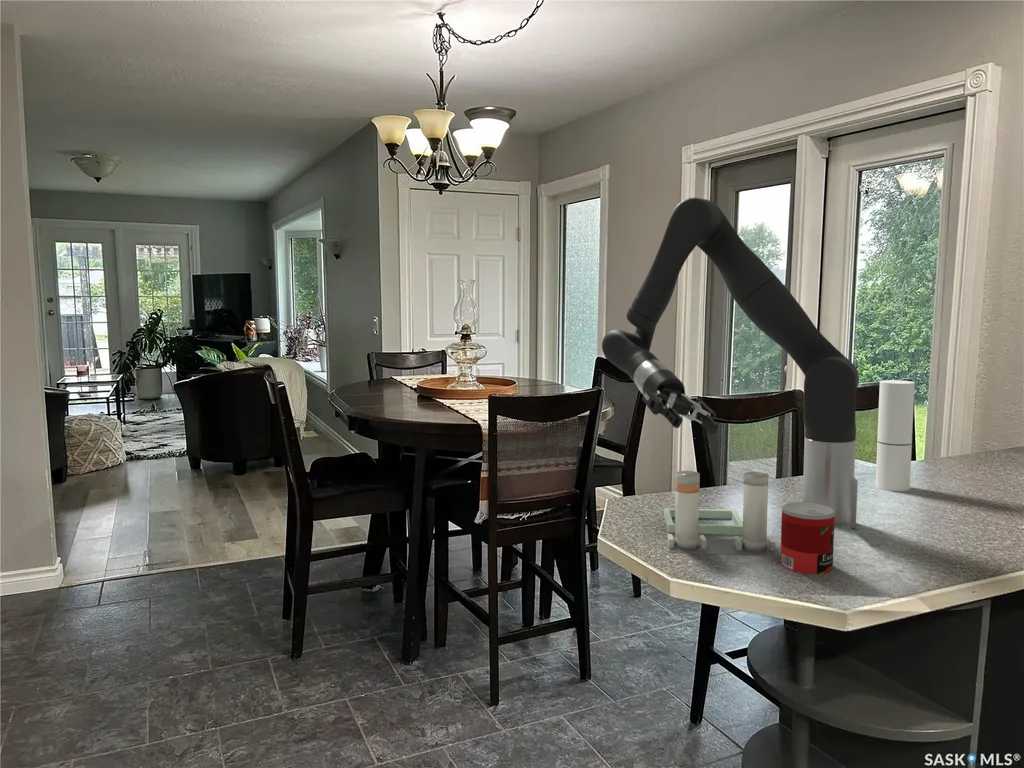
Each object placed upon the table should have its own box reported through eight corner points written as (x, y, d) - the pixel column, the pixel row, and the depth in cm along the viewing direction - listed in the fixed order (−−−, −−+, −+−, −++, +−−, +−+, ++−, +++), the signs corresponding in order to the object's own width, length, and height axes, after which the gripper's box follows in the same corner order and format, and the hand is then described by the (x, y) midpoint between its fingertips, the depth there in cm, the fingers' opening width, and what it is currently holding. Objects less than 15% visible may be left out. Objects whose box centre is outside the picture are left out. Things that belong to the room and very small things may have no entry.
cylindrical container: (910, 486, 173) (915, 381, 170) (908, 492, 167) (913, 384, 164) (877, 482, 177) (881, 379, 174) (873, 489, 171) (878, 382, 168)
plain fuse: (764, 543, 130) (765, 472, 128) (769, 551, 126) (770, 477, 124) (740, 543, 130) (741, 471, 129) (744, 550, 126) (745, 477, 125)
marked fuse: (697, 541, 132) (698, 471, 130) (699, 549, 127) (700, 476, 126) (673, 541, 132) (674, 470, 131) (675, 548, 128) (676, 476, 127)
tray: (735, 524, 146) (735, 509, 146) (745, 542, 135) (745, 526, 135) (663, 522, 148) (663, 508, 148) (668, 540, 137) (668, 524, 137)
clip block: (768, 548, 132) (768, 532, 132) (778, 564, 124) (778, 547, 124) (666, 545, 134) (666, 529, 134) (669, 560, 126) (670, 544, 126)
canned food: (828, 586, 114) (830, 518, 113) (775, 577, 118) (777, 510, 117) (836, 570, 121) (838, 506, 119) (785, 562, 125) (787, 499, 124)
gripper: (637, 362, 147) (676, 404, 134) (693, 374, 153) (735, 416, 140) (622, 394, 150) (658, 438, 137) (677, 404, 156) (717, 448, 143)
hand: (697, 427), depth 138 cm, fingers open, 8 cm apart
